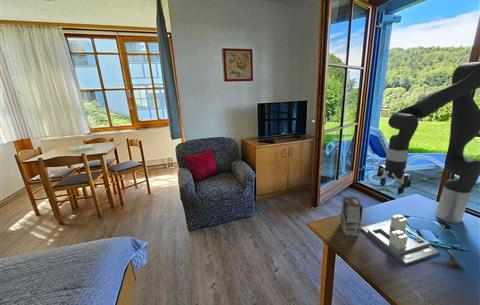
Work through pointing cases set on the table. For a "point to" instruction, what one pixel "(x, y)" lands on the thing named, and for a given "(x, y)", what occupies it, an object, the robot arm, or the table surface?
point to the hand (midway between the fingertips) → (390, 189)
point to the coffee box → (351, 216)
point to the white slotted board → (407, 255)
